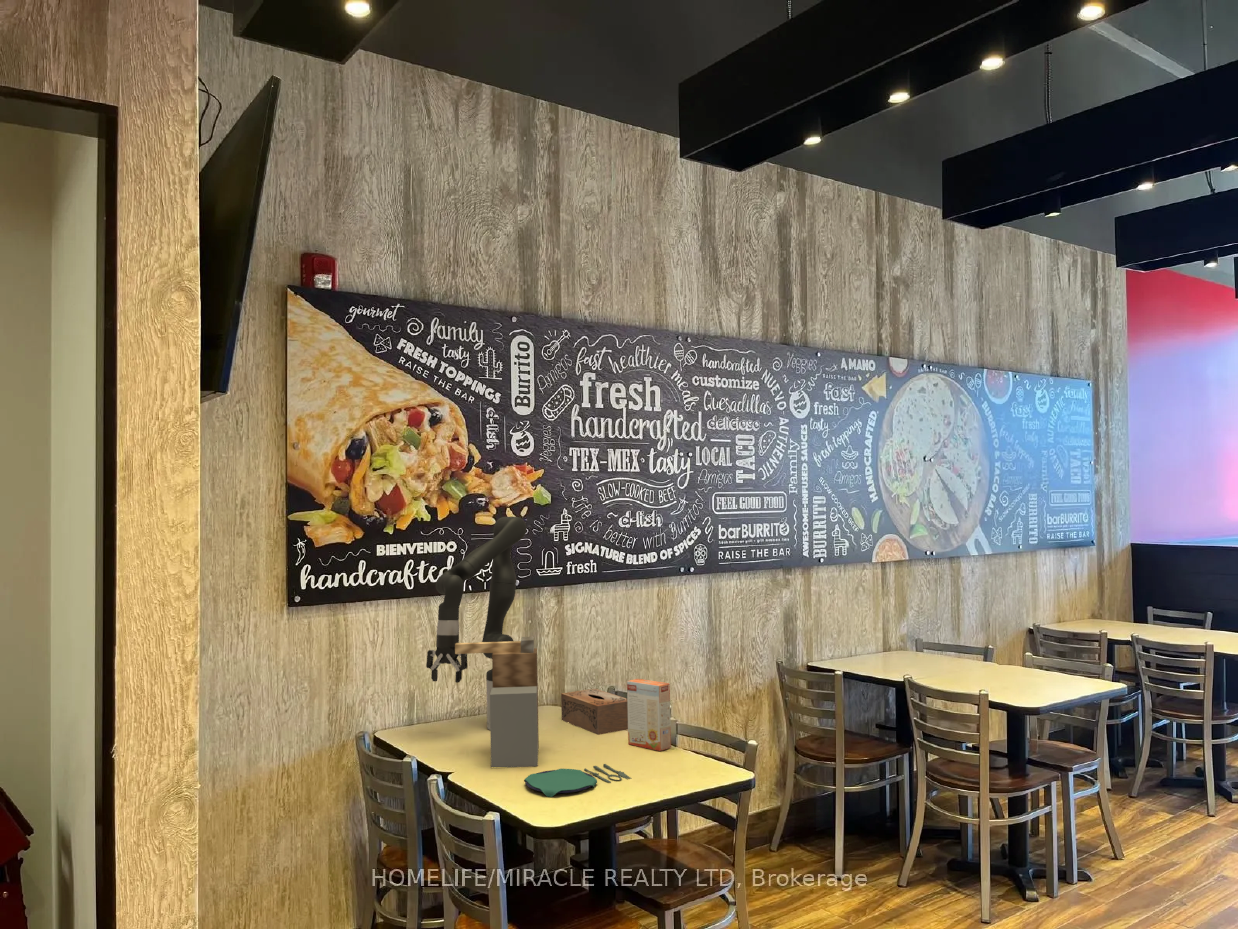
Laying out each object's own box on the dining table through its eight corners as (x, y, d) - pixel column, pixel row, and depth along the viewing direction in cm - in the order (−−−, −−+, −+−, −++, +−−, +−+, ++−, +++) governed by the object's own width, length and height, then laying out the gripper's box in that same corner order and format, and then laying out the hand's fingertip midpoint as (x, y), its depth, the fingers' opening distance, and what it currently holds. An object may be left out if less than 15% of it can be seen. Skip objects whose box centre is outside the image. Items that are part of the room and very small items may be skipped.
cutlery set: (513, 783, 257) (513, 775, 257) (603, 767, 272) (603, 759, 272) (544, 803, 240) (544, 794, 240) (639, 784, 255) (639, 776, 255)
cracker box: (672, 748, 289) (670, 682, 290) (660, 752, 285) (658, 685, 286) (639, 741, 299) (638, 677, 300) (627, 744, 294) (626, 680, 295)
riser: (493, 757, 283) (492, 654, 284) (495, 748, 293) (494, 649, 294) (538, 755, 284) (536, 653, 285) (538, 746, 294) (537, 648, 295)
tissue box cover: (633, 729, 315) (632, 700, 316) (598, 735, 308) (597, 706, 308) (595, 715, 337) (594, 688, 337) (561, 721, 329) (561, 693, 330)
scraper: (454, 655, 284) (454, 642, 285) (456, 651, 292) (456, 638, 293) (533, 652, 286) (533, 640, 286) (534, 648, 294) (533, 636, 294)
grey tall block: (490, 768, 271) (489, 694, 272) (493, 758, 281) (492, 687, 282) (537, 766, 272) (536, 693, 273) (538, 757, 282) (536, 686, 283)
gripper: (471, 633, 309) (470, 681, 307) (434, 632, 313) (432, 679, 311) (462, 635, 301) (460, 684, 300) (423, 633, 305) (422, 682, 304)
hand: (446, 681), depth 305 cm, fingers open, 8 cm apart
